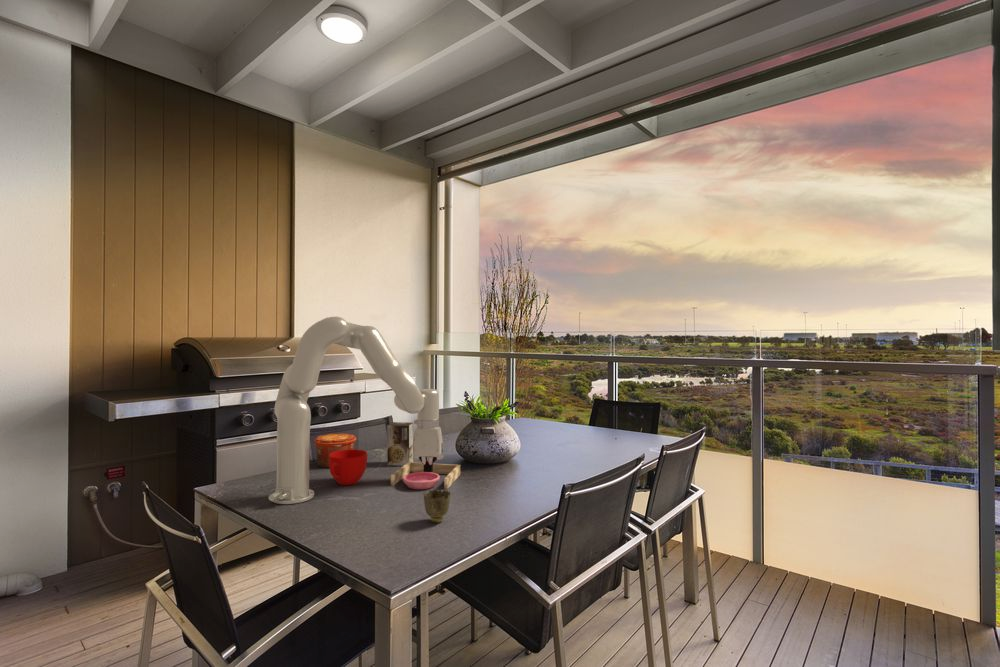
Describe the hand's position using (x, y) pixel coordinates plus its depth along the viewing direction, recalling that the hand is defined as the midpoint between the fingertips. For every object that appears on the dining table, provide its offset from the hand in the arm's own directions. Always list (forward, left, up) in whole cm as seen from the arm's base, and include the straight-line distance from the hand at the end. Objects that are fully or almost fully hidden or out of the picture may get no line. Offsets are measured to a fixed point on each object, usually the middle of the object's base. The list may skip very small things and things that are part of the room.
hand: (428, 474), depth 182 cm
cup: (-38, -15, -2) cm, 41 cm away
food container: (+12, +42, -2) cm, 44 cm away
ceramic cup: (-11, +26, -2) cm, 29 cm away
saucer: (-8, 0, -2) cm, 8 cm away
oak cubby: (-1, 0, -2) cm, 2 cm away
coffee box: (+18, +17, -2) cm, 25 cm away
